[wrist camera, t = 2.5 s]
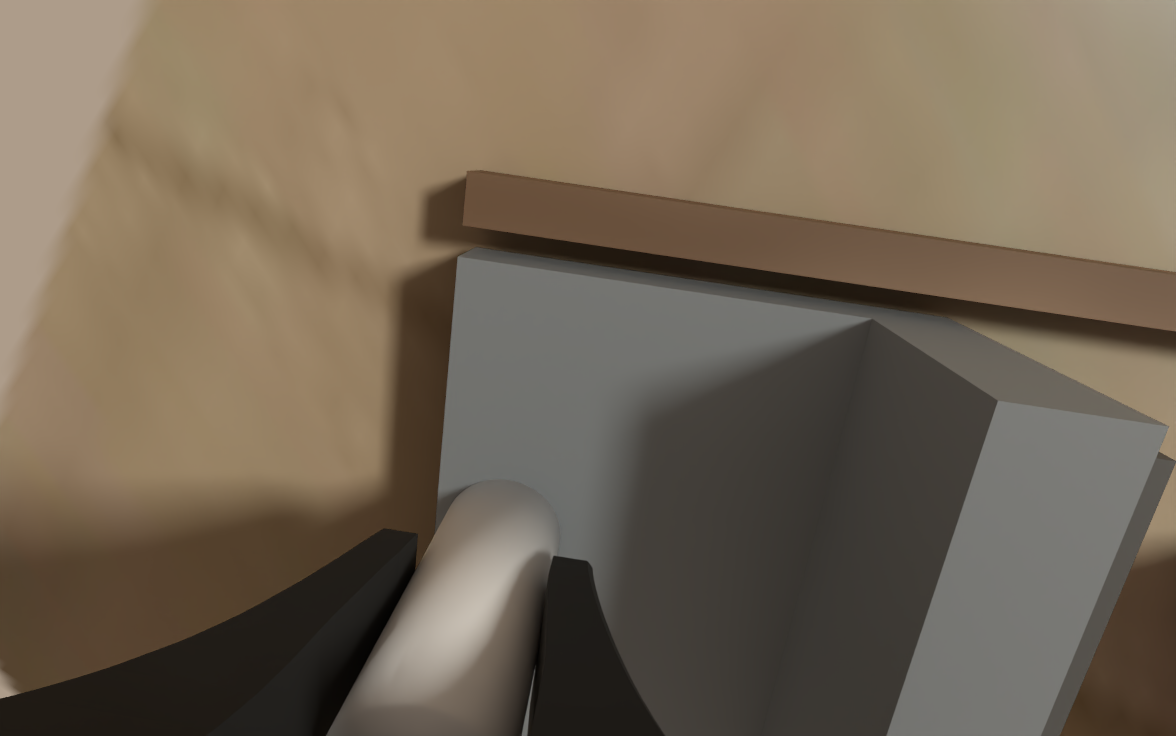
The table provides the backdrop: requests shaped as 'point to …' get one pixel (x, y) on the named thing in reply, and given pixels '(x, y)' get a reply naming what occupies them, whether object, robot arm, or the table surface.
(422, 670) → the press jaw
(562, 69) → the table surface
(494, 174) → the frame
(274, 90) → the table surface
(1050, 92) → the table surface
